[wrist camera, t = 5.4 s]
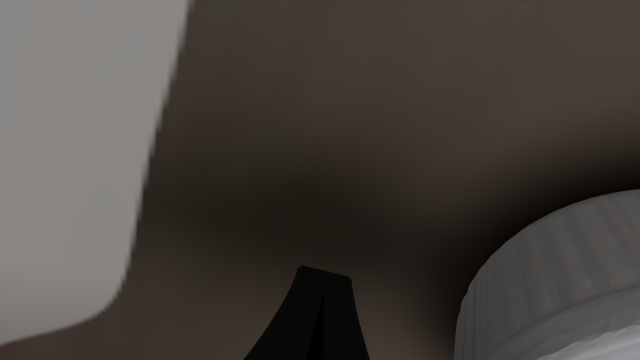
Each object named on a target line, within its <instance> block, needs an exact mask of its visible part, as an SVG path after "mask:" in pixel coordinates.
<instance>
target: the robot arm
mask: <svg viewBox="0 0 640 360" xmlns="http://www.w3.org/2000/svg"><path fill="white" fill-rule="evenodd" d="M244 360H370V358H369V355H368V352H367V348H366V345H365V342H364V338H363V335H362V331H361V327H360V324H359V319H358V315H357V311H356V306H355V301H354V296H353V289H352V281H351V279H350V278H349V277H348V276H344V275H340V274H336V273H331V272H327V271H323V270H319V269H315V268H311V267H307V266H301V267H299V268H298V269H297V273H296V276H295V279H294V281H293V283H292V286H291V288H290V290H289V292H288V294H287V296H286V298H285V299H284V301H283V303H282V305H281V306H280V308H279V310H278V311H277V313H276V314H275V316H274V318H273V319H272V321H271V323H270V324H269V326H268V327H267V329H266V330H265V331H264V333H263V334H262V336H261V337H260V338H259V340H258V341H257V342H256V344H255V345H254V347H253V348H252V349H251V351H250V352H249V353H248V355H247V356H246V357H245V358H244Z"/></svg>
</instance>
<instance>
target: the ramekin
mask: <svg viewBox="0 0 640 360" xmlns="http://www.w3.org/2000/svg"><path fill="white" fill-rule="evenodd" d="M454 360H640V189H636V190H627V191H621V192H615V193H610V194H606V195H601V196H597V197H593V198H589V199H586V200H583V201H580V202H577V203H574V204H571V205H569V206H566V207H564V208H561V209H559V210H556V211H554V212H552V213H550V214H548V215H546V216H544V217H542V218H541V219H539V220H537V221H535V222H534V223H532V224H530V225H529V226H527V227H525V228H524V229H522V230H521V231H520V232H518V233H517V234H516V235H515V236H513V237H512V238H511V239H509V240H508V241H506V242H505V243H504V244H503V245H502V247H501V248H500V249H498V250H497V251H496V252H495V253H494V254H493V255H491V257H490V258H489V259H488V260H487V262H486V263H485V264H484V265H483V266H482V267H481V268H480V269H479V271H478V273H477V275H476V277H475V278H474V279H473V281H472V282H471V283H470V285H469V287H468V291H467V294H466V295H465V297H464V298H463V300H462V303H461V310H460V313H459V315H458V319H457V326H456V336H455V348H454Z"/></svg>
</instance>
